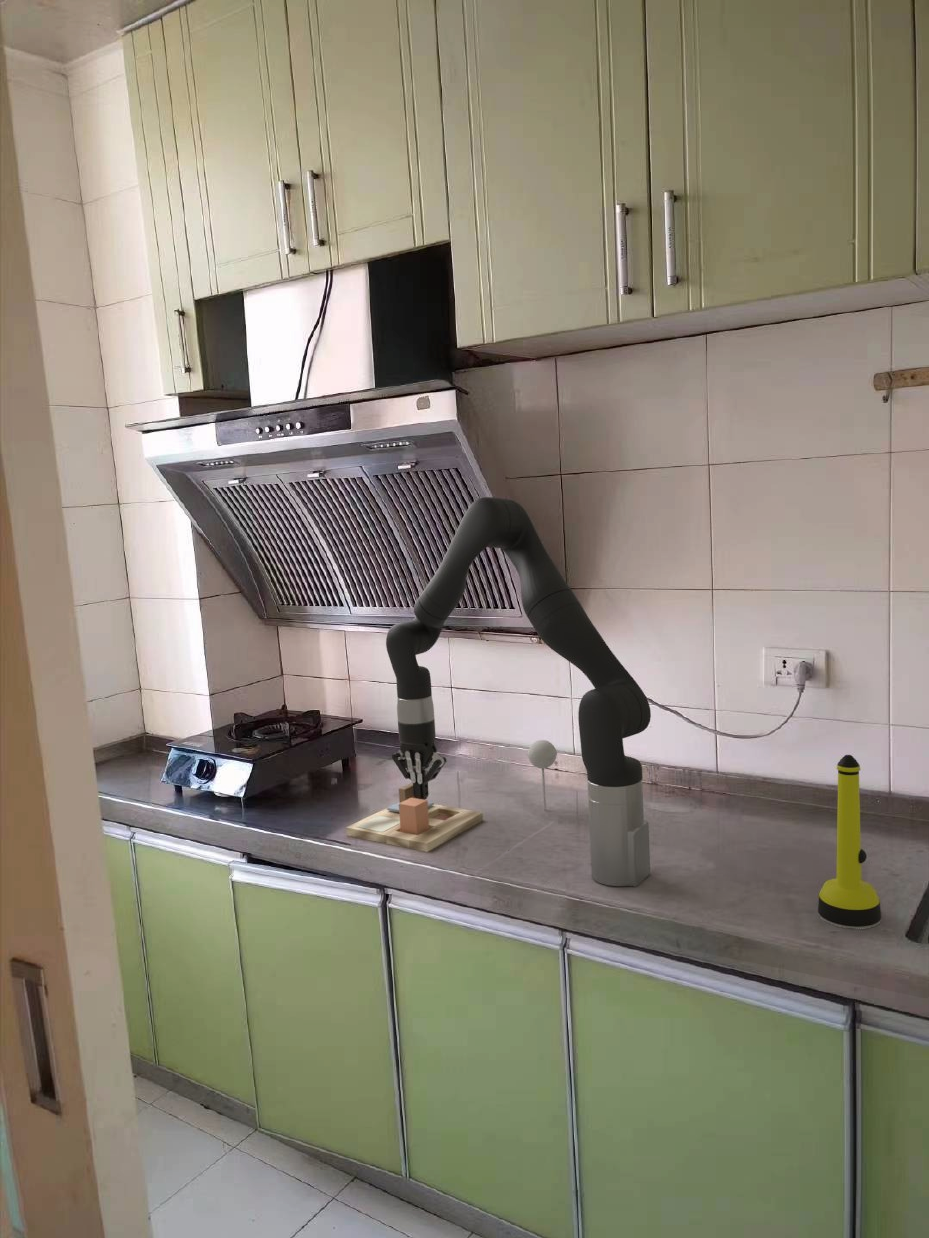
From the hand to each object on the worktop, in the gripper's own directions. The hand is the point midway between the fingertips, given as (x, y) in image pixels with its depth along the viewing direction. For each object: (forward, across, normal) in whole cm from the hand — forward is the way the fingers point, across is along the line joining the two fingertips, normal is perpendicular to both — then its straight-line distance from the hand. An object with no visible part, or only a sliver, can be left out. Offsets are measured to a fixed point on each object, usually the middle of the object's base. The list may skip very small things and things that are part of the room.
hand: (421, 799), depth 194 cm
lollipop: (+5, -20, -16) cm, 26 cm away
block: (+4, -5, +9) cm, 11 cm away
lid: (+2, +3, 0) cm, 4 cm away
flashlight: (+4, -85, +6) cm, 85 cm away
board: (+4, -2, +5) cm, 7 cm away
